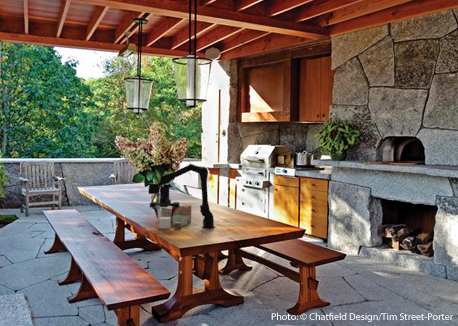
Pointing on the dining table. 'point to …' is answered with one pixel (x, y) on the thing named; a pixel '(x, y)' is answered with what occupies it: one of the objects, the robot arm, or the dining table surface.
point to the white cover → (165, 222)
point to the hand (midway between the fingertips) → (164, 217)
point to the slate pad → (164, 228)
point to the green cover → (180, 219)
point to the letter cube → (177, 225)
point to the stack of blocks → (177, 211)
